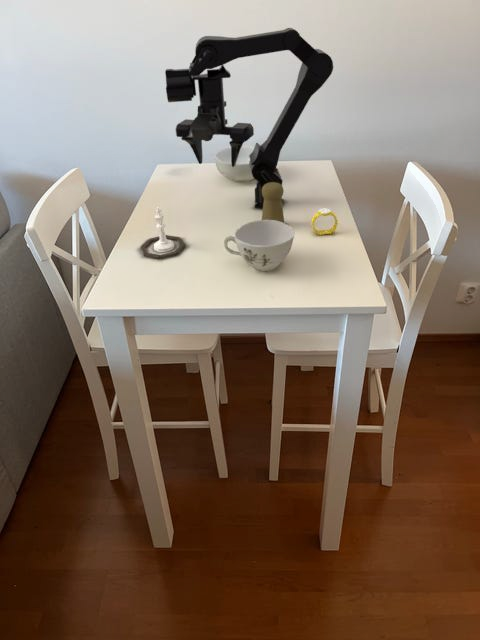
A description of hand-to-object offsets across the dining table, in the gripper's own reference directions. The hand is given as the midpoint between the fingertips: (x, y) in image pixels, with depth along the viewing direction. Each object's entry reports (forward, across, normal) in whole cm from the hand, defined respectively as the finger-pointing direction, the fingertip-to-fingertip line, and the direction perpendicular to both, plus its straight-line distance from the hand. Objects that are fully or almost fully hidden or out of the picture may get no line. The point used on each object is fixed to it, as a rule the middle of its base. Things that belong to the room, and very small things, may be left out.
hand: (216, 165), depth 119 cm
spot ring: (+12, -4, -24) cm, 27 cm away
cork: (+12, +17, -6) cm, 22 cm away
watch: (+12, +30, -6) cm, 33 cm away
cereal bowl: (+12, -2, +23) cm, 26 cm away
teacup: (+12, +20, -24) cm, 33 cm away
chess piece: (+12, -4, -23) cm, 27 cm away
